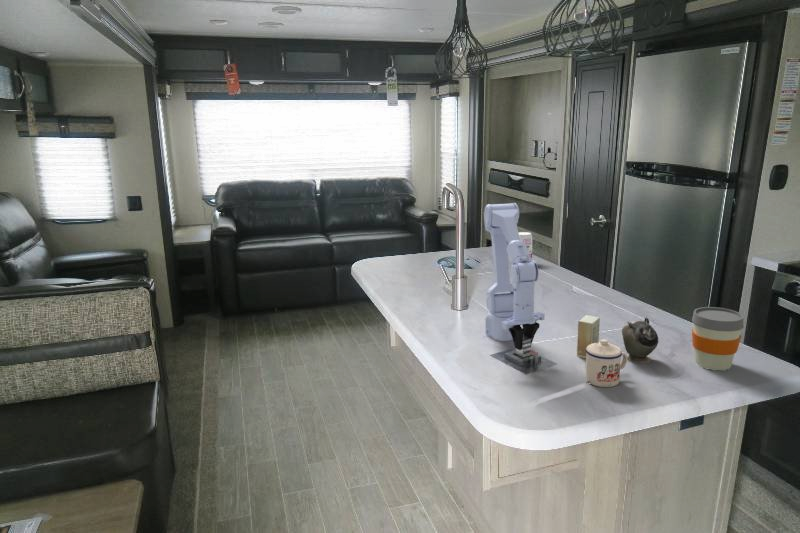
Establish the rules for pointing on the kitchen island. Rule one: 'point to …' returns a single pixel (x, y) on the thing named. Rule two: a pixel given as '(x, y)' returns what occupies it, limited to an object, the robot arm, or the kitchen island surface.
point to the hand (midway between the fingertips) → (522, 347)
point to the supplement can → (527, 241)
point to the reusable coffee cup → (716, 336)
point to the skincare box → (587, 333)
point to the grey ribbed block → (524, 348)
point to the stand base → (523, 361)
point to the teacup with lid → (604, 364)
